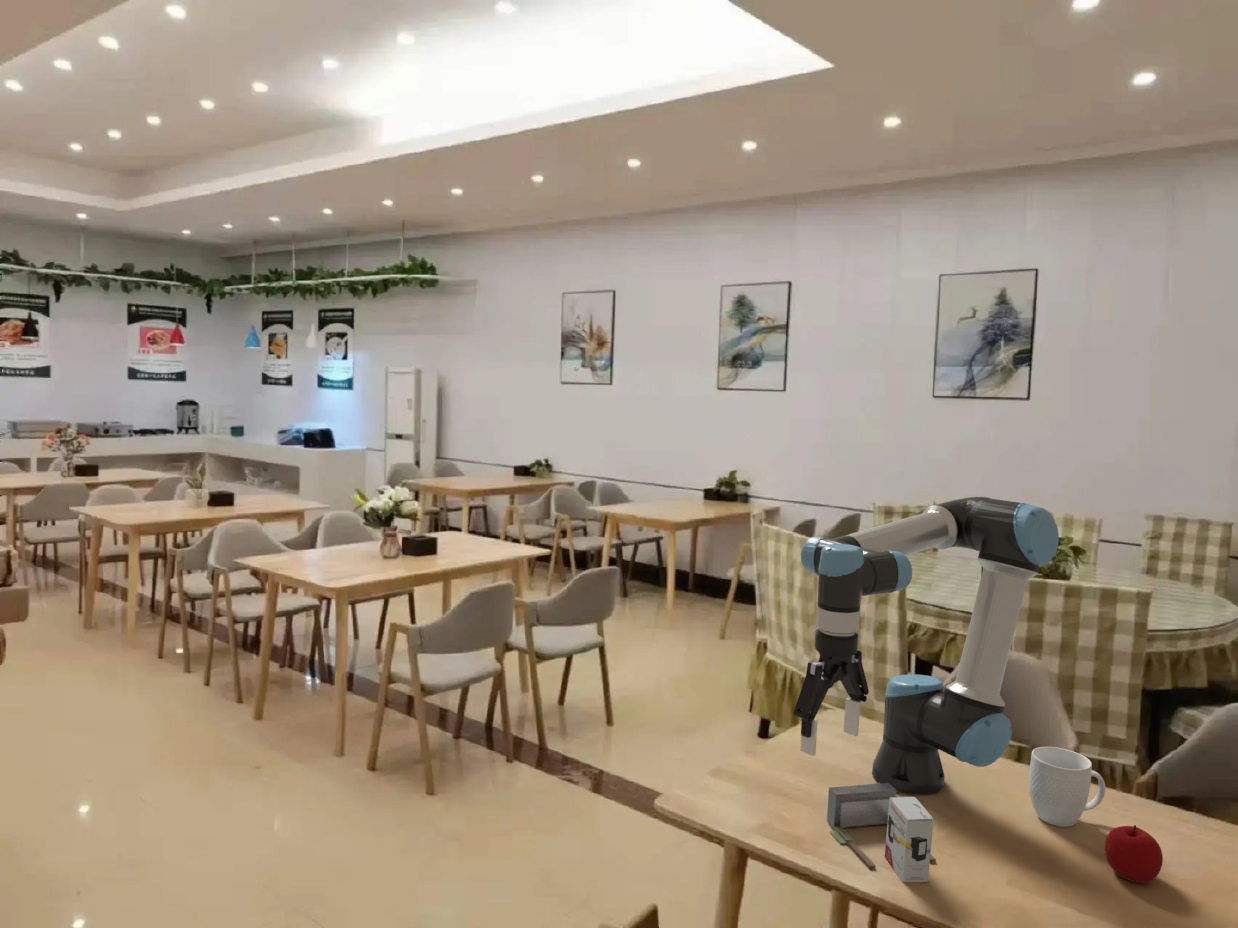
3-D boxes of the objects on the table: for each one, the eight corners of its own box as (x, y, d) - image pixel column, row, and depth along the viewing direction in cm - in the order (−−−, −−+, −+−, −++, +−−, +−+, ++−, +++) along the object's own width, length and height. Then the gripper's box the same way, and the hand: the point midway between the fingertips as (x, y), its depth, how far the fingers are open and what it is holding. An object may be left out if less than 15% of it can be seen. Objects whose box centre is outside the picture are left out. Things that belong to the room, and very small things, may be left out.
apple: (1173, 887, 155) (1178, 833, 154) (1132, 894, 152) (1138, 839, 151) (1129, 859, 163) (1134, 808, 162) (1090, 865, 161) (1095, 813, 160)
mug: (1085, 806, 183) (1091, 747, 182) (1116, 834, 172) (1123, 771, 171) (1015, 805, 183) (1021, 745, 181) (1043, 832, 172) (1049, 769, 170)
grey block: (885, 815, 176) (888, 782, 175) (895, 824, 173) (897, 791, 172) (826, 821, 173) (829, 787, 172) (835, 830, 170) (837, 796, 169)
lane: (900, 822, 173) (900, 819, 173) (941, 861, 160) (941, 857, 160) (827, 829, 170) (827, 825, 170) (863, 869, 156) (863, 865, 156)
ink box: (883, 856, 161) (888, 795, 160) (909, 855, 162) (913, 795, 160) (902, 883, 153) (907, 819, 151) (929, 882, 153) (934, 819, 152)
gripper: (857, 614, 169) (850, 719, 171) (777, 637, 152) (771, 754, 154) (892, 623, 163) (884, 732, 165) (813, 648, 146) (806, 769, 149)
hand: (830, 743), depth 160 cm, fingers open, 13 cm apart
